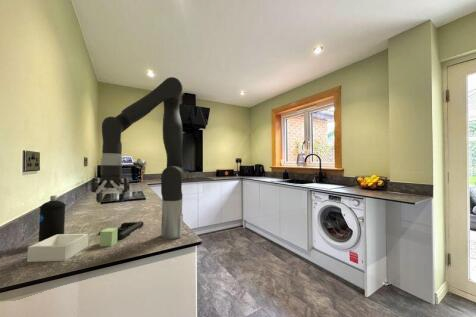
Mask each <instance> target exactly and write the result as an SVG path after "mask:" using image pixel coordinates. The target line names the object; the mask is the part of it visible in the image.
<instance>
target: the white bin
mask: <svg viewBox="0 0 476 317" xmlns="http://www.w3.org/2000/svg"><path fill="white" fill-rule="evenodd" d="M88 247H89V233H75V234H74V233H69V234H68V233H66V234H65V233H64V234H57V235H54V236H52V237H50V238H48V239H45V240H43V241H41V242H39V241H38V242H36V243H34V244H32V245H29V246H28V247H27V257H26V258H27V260H26V262H27V263H31V262H32V263H33V262H34V263H35V262H36V263H37V262H61V261H62V262H65V261H67V260H68V259H70V258H72V257H73V256H75V255H76V254H78V253H79V252H81V251H83V250H84V249H86V248H88Z"/></svg>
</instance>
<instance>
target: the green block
mask: <svg viewBox="0 0 476 317" xmlns="http://www.w3.org/2000/svg"><path fill="white" fill-rule="evenodd" d="M100 231H101V232H100ZM100 231H99V232H100V235H99V236H100V237H99V239H100V240H99V247H113V245H115V244H116V243H118V238H117V232H118V227H107V228H104V229H103V230H100Z"/></svg>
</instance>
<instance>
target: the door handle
mask: <svg viewBox="0 0 476 317" xmlns="http://www.w3.org/2000/svg"><path fill="white" fill-rule="evenodd" d="M144 225H145V222H144V221H142V220H140V221H132V222H131V221H129V222H128V221H127V222H123V223H121V225H120V227H119V228H118V227H117V228H118V232H117V240H122V239H125V238H127V236H131V235H132V234H134V233H135V232H137V231H138V230H140V228H142V227H144ZM101 231H102V230H99V231H98V235H99V236H100V232H101Z"/></svg>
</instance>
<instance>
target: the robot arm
mask: <svg viewBox="0 0 476 317" xmlns="http://www.w3.org/2000/svg"><path fill="white" fill-rule="evenodd" d="M182 83H183V82H181V80H180V79H179V78H177V77H172V76H170V77H167V78H165V79H164V80H163V81H162V82H161V83H160V84H158V86H157V87H156V88H154V89H152V91H150V92H149V93H147V94H145V95H144V96H143V97H141V98H139V99H138V100H137V101H134V102H133V103H132V104H130V105H128V106H127V107H125V108H124V109H122V111H121V112H120V113H119V114H118V115H116V116H108V117H105V118H104V119H103V121H102V123H101V135H102V151H101V152H102V153H101V157H100V158H101V159H100V177H93V178H92V179H91V180H92V181H91V188H90V191H91V193H95V194H96V199H95V200H96V202H97V203H102V202H103V192H104V191H105V189H115V190H116V191H117V192H118V203H123V202H124V201H125V195H126V193H128V192H130V178H129V177H125V178H122V173H123V172H122V169H123V156H122V155H123V154H122V153H123V152H122V151H123V148H122V147H123V144H122V141H121V140H122V139H121V138H122V133H124V132H125V131H126V130H128V129H129V128H130V127H131V126H132V125H133V124H135V123H137V122H138V121H140V120H141V119H143V118H145V117H146V116H148V114H150V113H151V112H152V111H153V110H154V109H155V108H157V106H159V105H160V104H162V103H163V116H162V141H163V146H164V150H165V154H166V167H165V168H164V169H163V171H162V172H161V178H160V193H161V194H160V195H161V226H160V227H161V228H160V231H161V232H160V233H161V234H160V237H161V238H162V239H164V240H172V239H173V240H174V239H178V238H179V239H180V238H181V237H182V235H183V231H184V230H183V228H184V227H183V226H184V225H183V224H184V214H183V191H182V190H183V189H182V186H183V184H182V182H183V180H184V176H185V173H184V171H185V170H184V166H183V137H184V136H183V135H184V134H183V133H184V132H183V123H182V118H181V115H180V103H181V102H180V100H181V96H182V92H183V84H182ZM100 183H101V184H100ZM121 183H122V184H123V185H122V184H121ZM99 184H100V185H99Z"/></svg>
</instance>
